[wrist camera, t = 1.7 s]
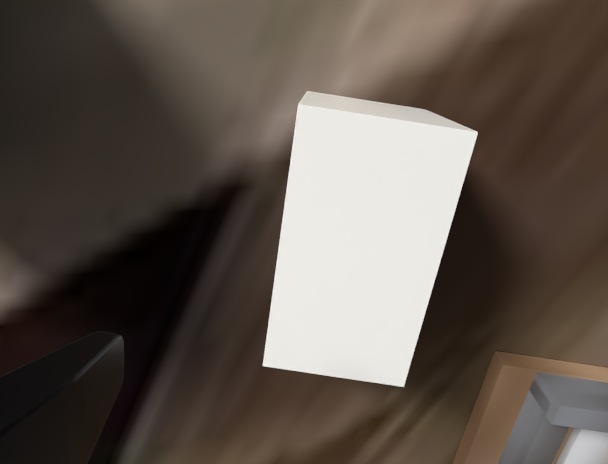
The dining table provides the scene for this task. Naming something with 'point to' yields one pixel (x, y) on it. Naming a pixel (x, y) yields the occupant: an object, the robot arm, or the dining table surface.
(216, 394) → the dining table surface
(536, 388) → the rail mount
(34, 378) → the robot arm
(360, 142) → the block
